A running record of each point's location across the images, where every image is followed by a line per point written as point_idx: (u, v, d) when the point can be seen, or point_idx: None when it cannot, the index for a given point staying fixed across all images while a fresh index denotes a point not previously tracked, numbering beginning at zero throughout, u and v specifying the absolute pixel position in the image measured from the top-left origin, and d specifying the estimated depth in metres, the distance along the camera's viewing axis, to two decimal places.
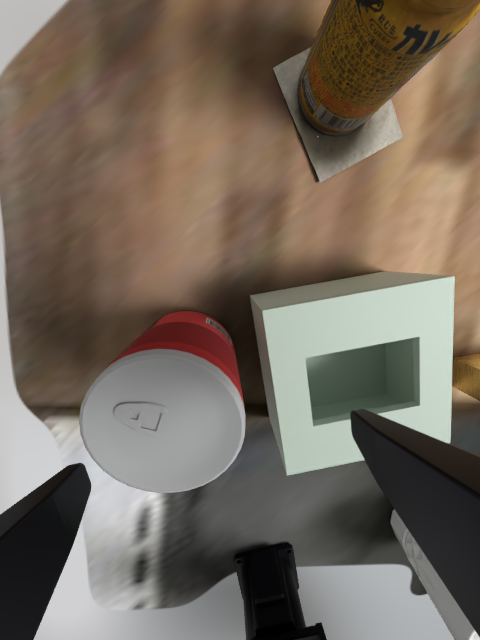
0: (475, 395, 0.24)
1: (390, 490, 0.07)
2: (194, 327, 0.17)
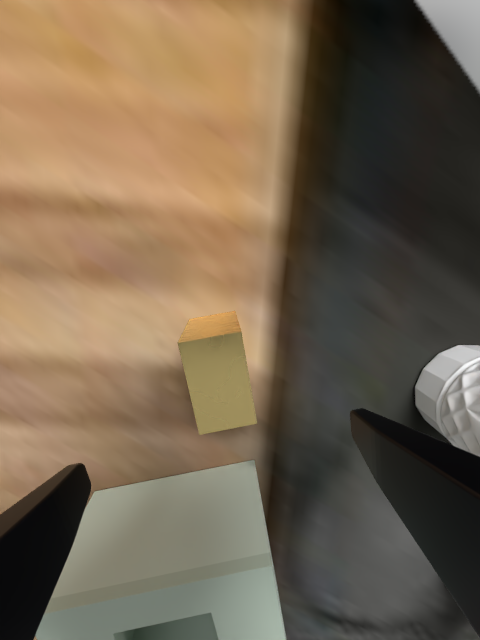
0: None
1: (390, 490, 0.07)
2: None
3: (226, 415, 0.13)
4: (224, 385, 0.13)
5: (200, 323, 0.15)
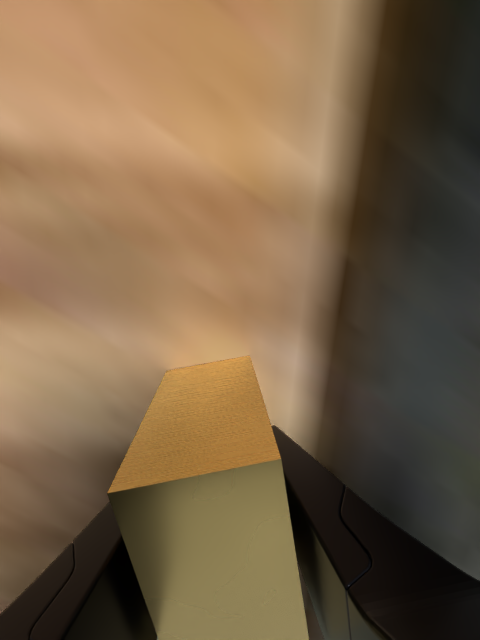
0: None
1: None
2: None
3: None
4: (235, 582, 0.05)
5: (182, 392, 0.07)
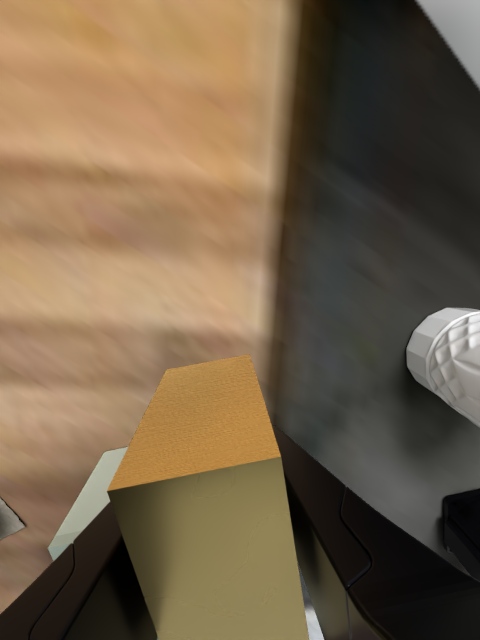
0: None
1: None
2: None
3: (238, 639, 0.05)
4: (235, 580, 0.05)
5: (182, 391, 0.07)
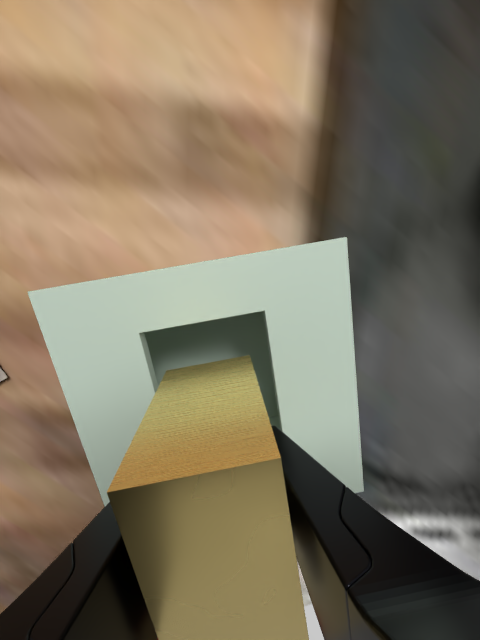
0: None
1: None
2: None
3: None
4: (234, 581, 0.05)
5: (182, 391, 0.07)
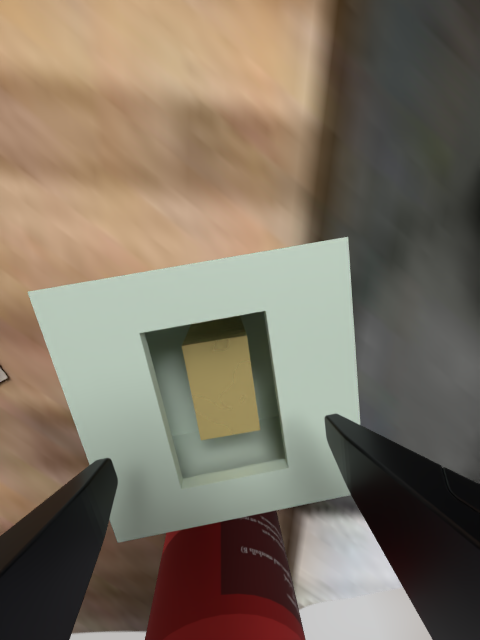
0: None
1: (358, 496, 0.07)
2: (158, 575, 0.15)
3: (229, 421, 0.13)
4: (228, 390, 0.12)
5: (204, 325, 0.15)
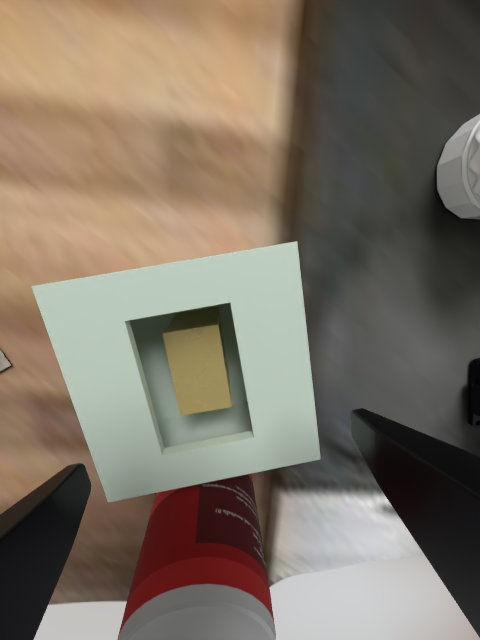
0: None
1: (390, 490, 0.07)
2: None
3: (204, 398, 0.15)
4: (203, 372, 0.15)
5: (185, 317, 0.17)
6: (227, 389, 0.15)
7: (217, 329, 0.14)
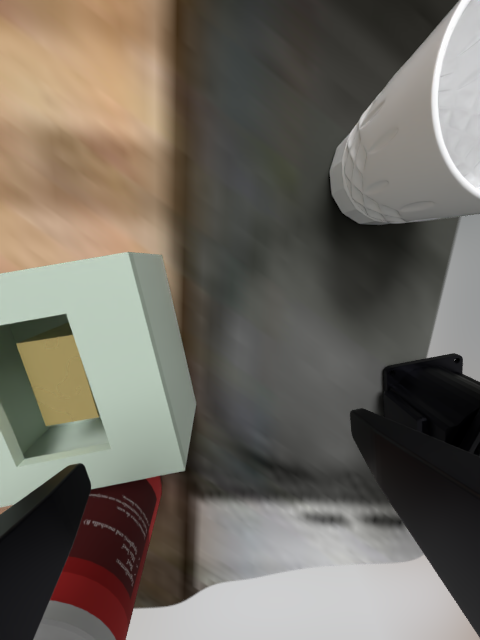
0: None
1: (390, 490, 0.07)
2: None
3: (69, 409, 0.15)
4: (64, 382, 0.14)
5: (66, 326, 0.17)
6: (91, 399, 0.15)
7: (73, 339, 0.14)
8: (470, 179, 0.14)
